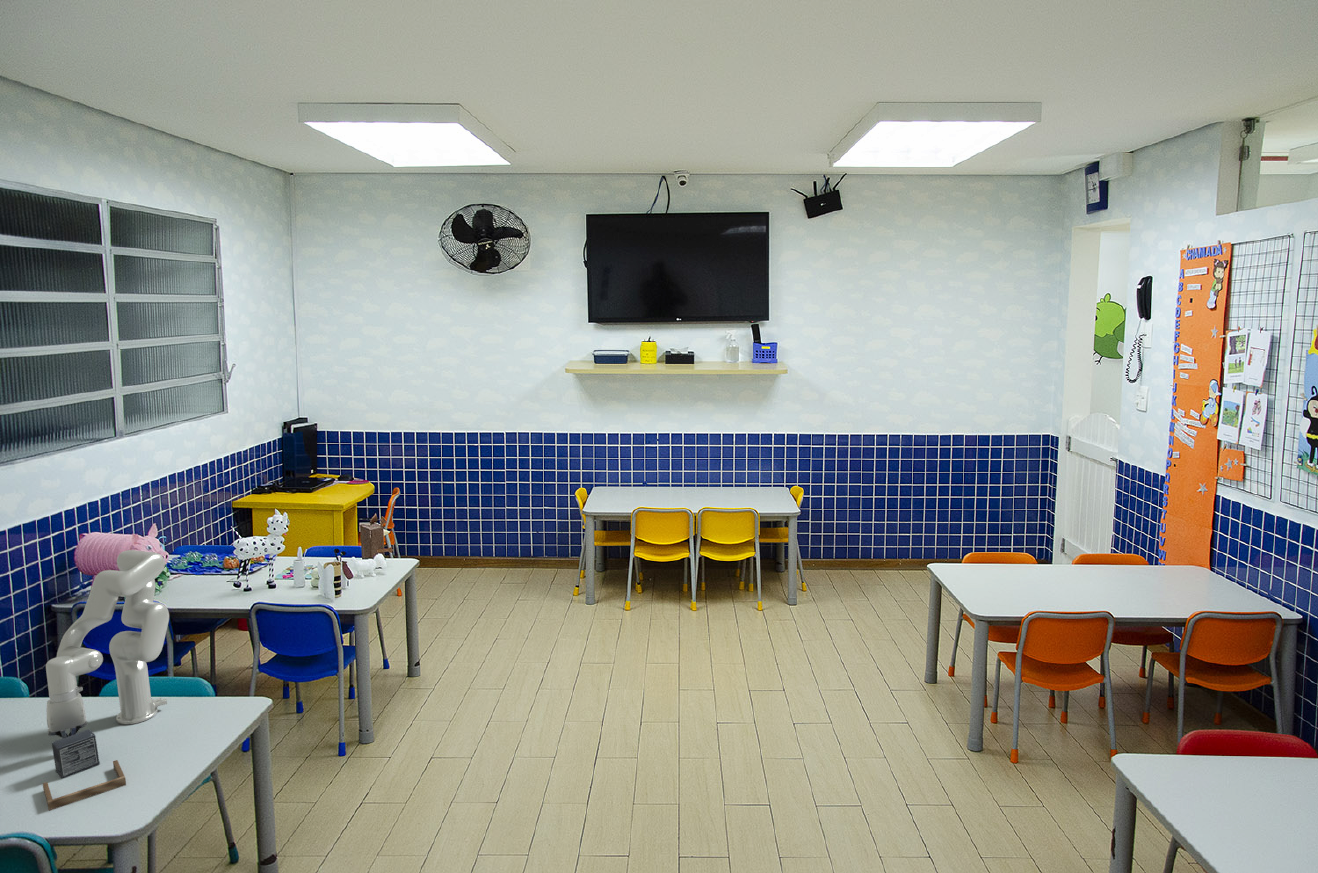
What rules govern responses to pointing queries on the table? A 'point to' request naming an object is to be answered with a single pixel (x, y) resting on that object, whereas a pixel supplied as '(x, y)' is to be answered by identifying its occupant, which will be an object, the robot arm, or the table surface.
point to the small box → (75, 753)
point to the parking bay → (85, 790)
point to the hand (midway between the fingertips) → (70, 747)
